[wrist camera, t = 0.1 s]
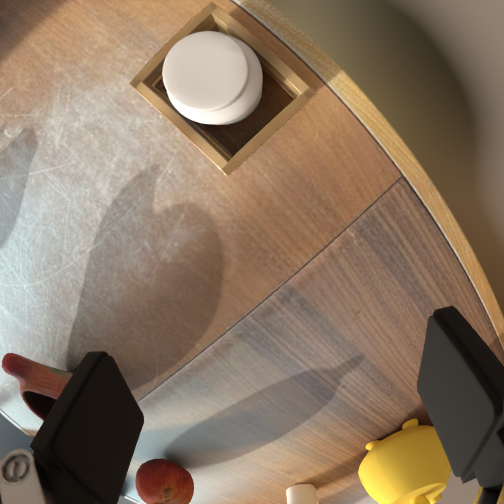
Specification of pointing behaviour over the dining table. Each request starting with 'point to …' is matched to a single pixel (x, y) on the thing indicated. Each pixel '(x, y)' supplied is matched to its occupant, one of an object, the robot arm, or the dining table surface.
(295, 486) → the cup
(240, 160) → the crate
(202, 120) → the pill bottle
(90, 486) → the robot arm
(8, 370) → the bowl
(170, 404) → the dining table surface
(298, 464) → the dining table surface
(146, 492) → the fruit
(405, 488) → the teapot
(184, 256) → the dining table surface
